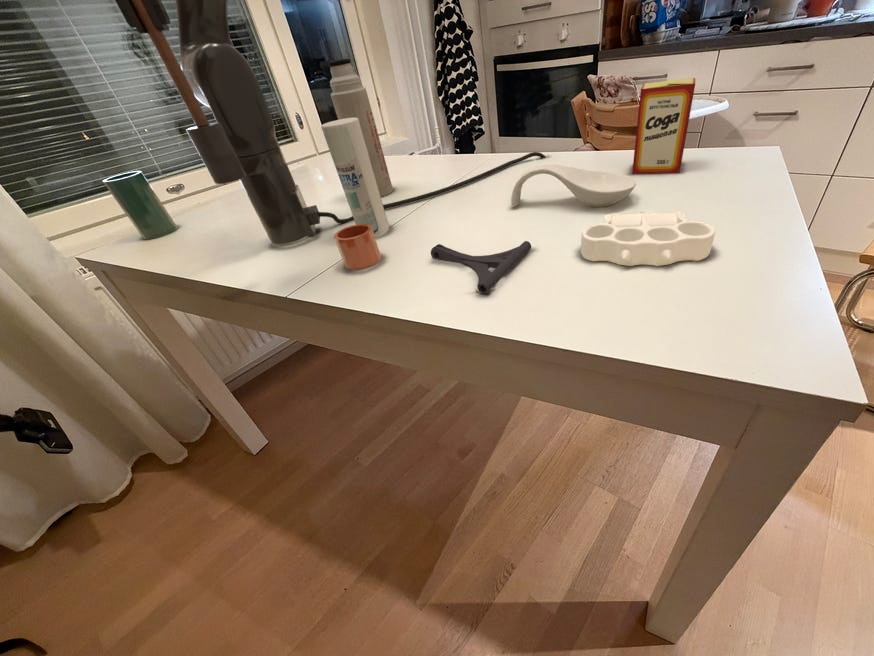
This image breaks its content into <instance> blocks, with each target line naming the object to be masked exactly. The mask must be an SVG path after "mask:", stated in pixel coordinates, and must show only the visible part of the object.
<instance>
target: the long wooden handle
mask: <svg viewBox="0 0 874 656" xmlns="http://www.w3.org/2000/svg"><path fill="white" fill-rule="evenodd" d="M130 1H131V2H132V4H133V6H134V8H135V10H136V12H137V14H138V16H139V18H140V20H141V22H142V23H143V25H144V27H145V29H146V31H147V33H148V34H147V35H148V37H149V39H150V40H151V42H152V44H153V46H154V48H155V50H156V52H157V54H158V55H159V58H160V60H161V61H162V63H163V65H164V68H165V69H166V71H167V73H168V75H169V77H170V78H171V80H172V83H173V84H174V86H175V88H176V90H177V92H178V94H179V96H180V98H181V100H182V101H183V103H184V106H185V107H186V109H187V111H188V112H189V115H190V117H191V118H192V120H193V122H194V125H195V126H192V127H189V128H186V129H185V131H186V133H187V135H188V136H189V139H190V140H191V142H192V144H193V146H194V147H195V149H196V151H197V153H198V154H199V157H200V159H201V161H202V162H203V164H204V166H205V168H206V169H207V171H208V173H209V175H210V177H211V178H212V181H213V182H214V184H216V185H223V184H229V183H232V182H236V181H240V180H239V179H242V178H244V177H245V176H246V174H245V172H244V170H243V168H242V166H241V164H240V162H239V160H238V158H237V156H236V153H235V151H234V149H233V147H232V145H231V143H230V141H229V139H228V137H227V135H226V133H225V131H224V129H223V127H222V125H221V123H220V122H217V121H216V122H215V121H214V122H209V120H208V119H207V117H206V114H205V113H204V111H203V109H202V106H201V105H200V103H199V100H198V99H197V98H196V97H195V95H194V93H193V91H192V89H191V87H190V85H189V83H188V81H187V79H186V77H185V75H184V73H183V71H182V69H181V64H180V62H179V61H178V59H177V57H176V55H175V54H174V52H173V50H172V47H171V45H170V44H169V41H168V39H167V38H166V36H165V34H164V32H163V31H159V30H158V29H157V27H156V25H155V23H154V21H153V19H152V17H151V15H150V13H149V11H148V9H147V8H146V6H145V4H144V2H143V0H130Z"/></svg>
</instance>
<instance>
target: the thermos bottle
mask: <svg viewBox="0 0 874 656" xmlns="http://www.w3.org/2000/svg"><path fill="white" fill-rule="evenodd" d="M327 66H328V68H330V74H331V79H330V81H329V84H330V85H329V87H330V88H331V90H332V92H331V93H330V98H331V101H332V104H333V108H334V111H335V113H336V117H337V120H340V119H346V118H358V120H359V123H360V126H361V130H362V133H363V137H364V140H365V144H366V147H367V151H368V154H369V158H370V161H371V165H372V168H373V172H374V175H375V179H376V182H377V186H378V190H379V193H380V197H381V198H382V197H384V196H388V195H390V194H391V193H392V192H393V191H394V189H393V184H392V181H391V177H390V173H389V171H388V166H387V162H386V158H385V154H384V151H383V147H382V142H381V140H380V136H379V133H378V129H377V125H376V121H375V118H374V114H373V110H372V106H371V102H370V98H369V96H368V91H367V88H366V87H364V86H363V85H362V80H361V78H360V76H359V75H358V74H356V73H355V71H354V67H353V66H352V61H351V58H340V59H339V58H338V59H335V60H331V61H328V62H327Z"/></svg>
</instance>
